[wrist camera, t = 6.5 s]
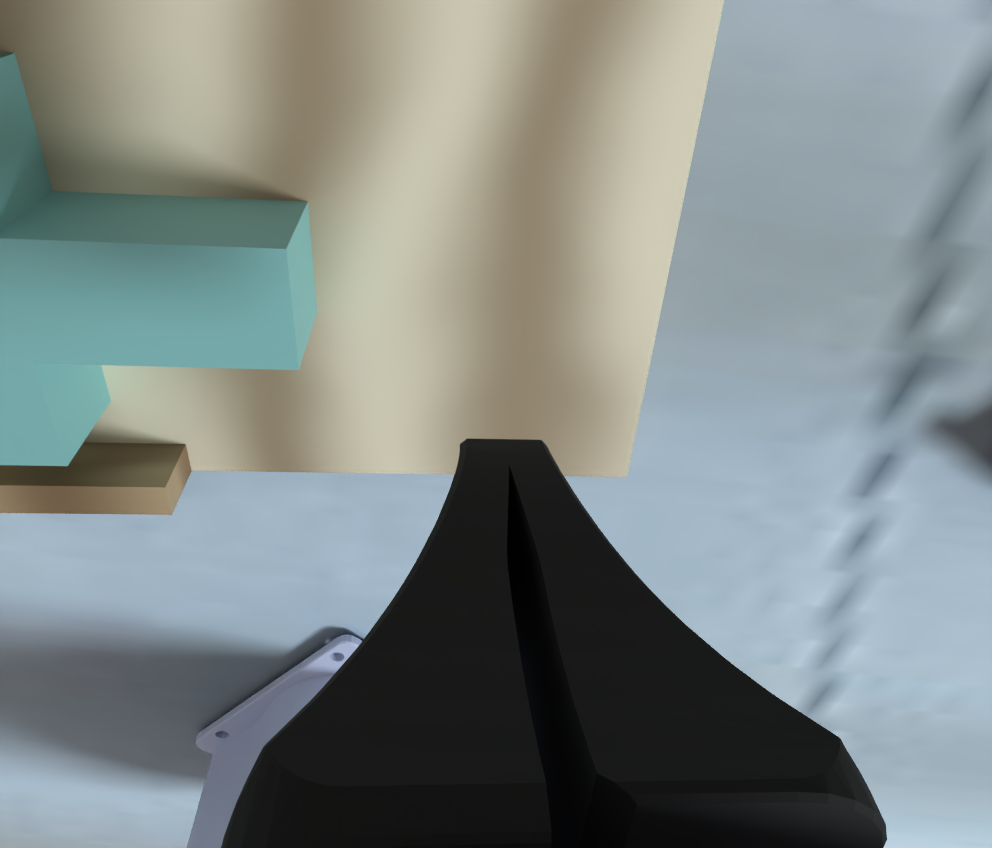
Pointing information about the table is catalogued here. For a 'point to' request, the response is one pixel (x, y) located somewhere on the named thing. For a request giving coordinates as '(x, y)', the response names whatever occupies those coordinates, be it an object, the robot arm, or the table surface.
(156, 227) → the t block
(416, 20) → the board
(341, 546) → the table surface
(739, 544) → the table surface
